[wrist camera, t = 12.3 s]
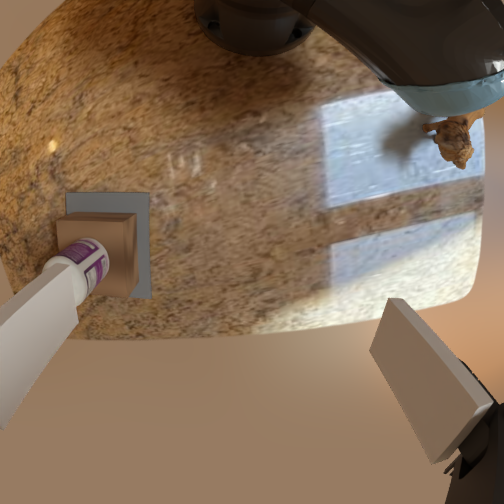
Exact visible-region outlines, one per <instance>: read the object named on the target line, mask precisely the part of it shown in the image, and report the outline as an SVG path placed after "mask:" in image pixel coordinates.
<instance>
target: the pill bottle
mask: <svg viewBox="0 0 504 504" xmlns="http://www.w3.org/2000/svg"><path fill="white" fill-rule="evenodd" d="M55 263H61V264H68V265H71V274H72V283H73V290H74V298H75V304H76V306H78V305H80V304H81V303H82V302H83V301H84V300H85V298H86V297H87V296H88V295H89V294H90V293H91V292H92V290H93V289H94V288H95V287H96V286H97V285H98V284H99V283H100V282H101V281H102V279H103V278H104V277H105V276H106V274H107V272H108V270H109V258H108V254H107V251H106V250H105V248H104V247H103V245H102V244H101V243H99V242H98V241H97V240H95V239H92V238H81V239H79V240H77V241H76V242H74V243H72V244H71V245H69V246H68V247H66V248H65V249H64V250H62V251H60V252H59V253H57V254H56V255H55V256H53V257H52V258H50V259H49V260H48V261H47V262H46V264H45V265H44V267H43V270H42V273H43V272H44V271H46V270H47V269H48V268H50V267H51V266H52V265H54V264H55Z"/></svg>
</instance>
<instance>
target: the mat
mask: <svg viewBox="0 0 504 504" xmlns="http://www.w3.org/2000/svg"><path fill="white" fill-rule="evenodd" d="M66 211H67V215H69V214H71V213H74V212H114V213H137V247H138V268H139V282H138V284H137V285H136V287H135V288H134V290H133V291H132V293H131V294H130V296H129V297H134V298H145V299H151V298H152V293H151V276H150V249H149V193H139V192H67V193H66Z"/></svg>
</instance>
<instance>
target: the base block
mask: <svg viewBox="0 0 504 504" xmlns="http://www.w3.org/2000/svg"><path fill="white" fill-rule="evenodd" d="M56 227H57V238H58V248H59V252H60V251H62V250H64V249H65V248H66V247H68V246H69V245H71V244H72V243H74V242H76V241H77V240H79V239H81V238H92V239H95V240H97V241H98V242H99V243H101V244H102V245H103V247H104V248H105V250H106V251H107V254H108V258H109V270H108V272H107V274H106V276H105V277H104V278H103V279H102V281H101V282H100V283H99V284H98V285H97V286H96V287H95V288H94V289H93V290H92V292H91V293H90V294H93V295H102V296H110V297H120V298H128V297H129V296H130V294H131V293H132V291H133V290H134V288H135V287H136V285H137V284H138V282H139V268H138V247H137V213H114V212H74V213H71V214H69V215H67V216H64V217H62V218H60V219H58V220H56Z"/></svg>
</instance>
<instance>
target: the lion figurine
mask: <svg viewBox="0 0 504 504" xmlns="http://www.w3.org/2000/svg"><path fill="white" fill-rule="evenodd" d="M484 113H485V109H484V108H482V109H479V110H477V111H474V112H471V113H467V114H463V115H458V116H452V117H448V118H447V120H443V121H440V122H436V123H432V124H424V125H423V127H422V128H423V131H424V132H425V133H427V132H430V131H432V130H436V132H437V135H436V137H435V142H436V143H437V144H438V147H439V150H440V152H441V153H440V154H441V155H442V157H443V158H444V159H445V160H446V161H447V162H448V161H453V164H455V165H456V167H457V168H460V169H462V170H463V169H465V167H466V162H467V161H468V159H469V158H471V156H472V154H473V153H474V149H473V148H472V145H471V141H470V135H469V132H468V130H469V129H470V127H471V126H472V124H473V123H474V121H475V120H476V119H479V118H482V117H483V116H484Z"/></svg>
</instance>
